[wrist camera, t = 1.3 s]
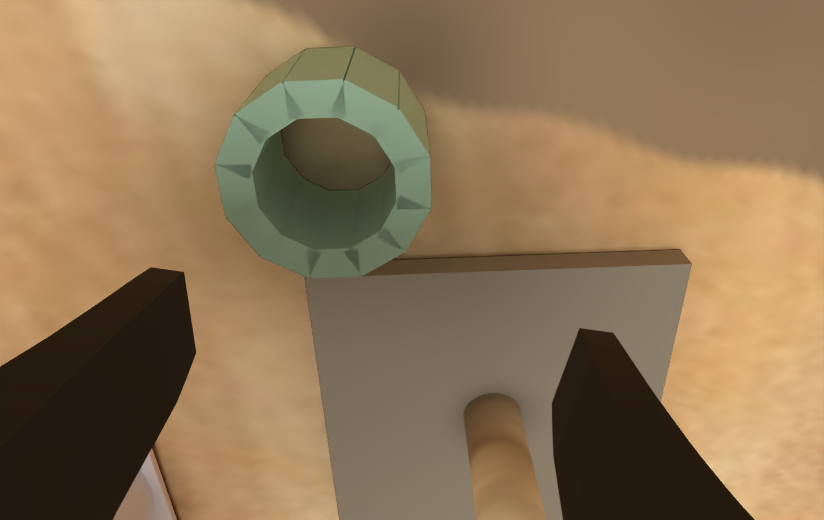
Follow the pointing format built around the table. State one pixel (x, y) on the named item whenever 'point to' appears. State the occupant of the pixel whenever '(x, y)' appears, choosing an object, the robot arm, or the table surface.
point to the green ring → (309, 203)
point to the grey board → (469, 363)
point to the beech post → (500, 461)
